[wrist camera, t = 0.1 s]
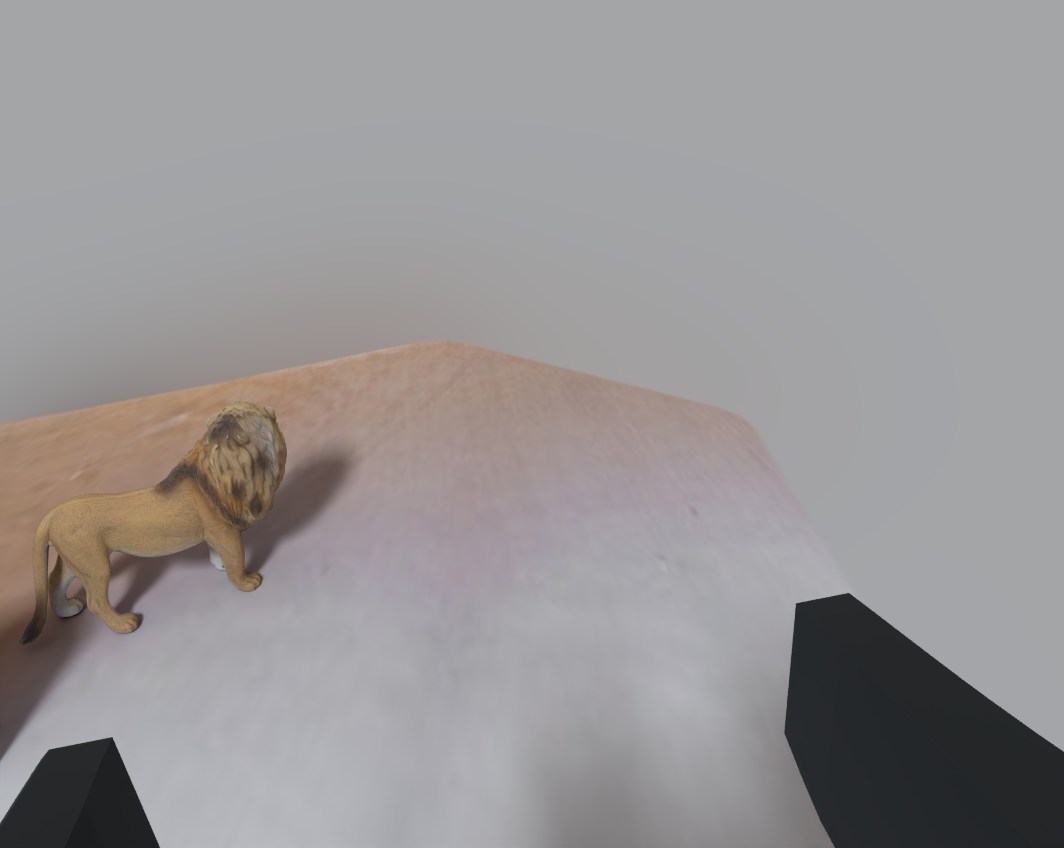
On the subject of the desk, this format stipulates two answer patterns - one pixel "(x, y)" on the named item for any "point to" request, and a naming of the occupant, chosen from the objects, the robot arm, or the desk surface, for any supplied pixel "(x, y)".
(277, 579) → the desk surface
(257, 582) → the lion figurine
